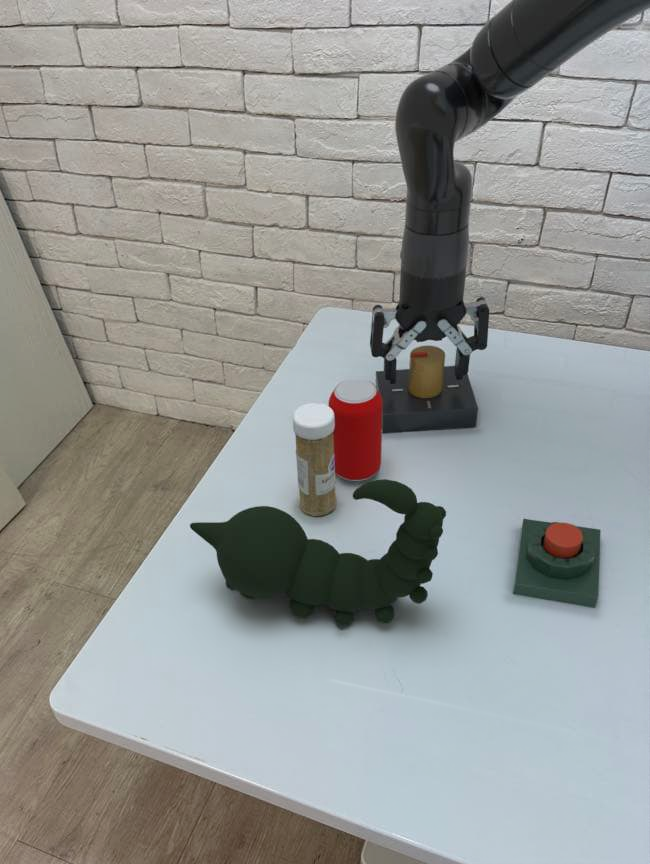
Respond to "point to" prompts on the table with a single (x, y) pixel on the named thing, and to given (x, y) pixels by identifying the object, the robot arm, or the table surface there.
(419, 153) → the robot arm
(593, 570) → the button box
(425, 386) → the knob
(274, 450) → the table surface
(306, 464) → the spice jar
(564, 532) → the button
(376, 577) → the toy figurine
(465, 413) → the panel
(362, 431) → the beverage can
